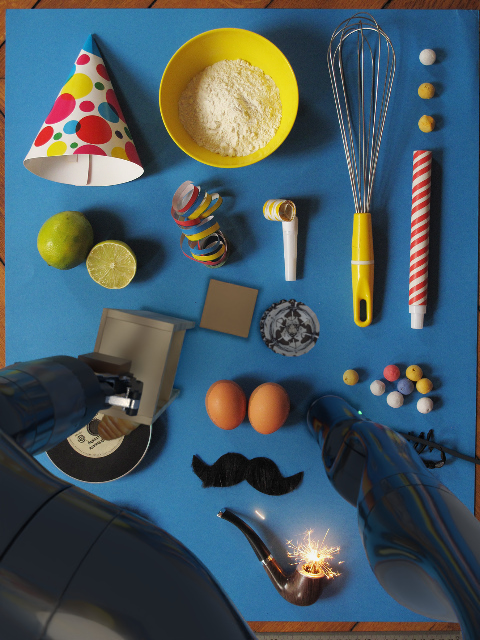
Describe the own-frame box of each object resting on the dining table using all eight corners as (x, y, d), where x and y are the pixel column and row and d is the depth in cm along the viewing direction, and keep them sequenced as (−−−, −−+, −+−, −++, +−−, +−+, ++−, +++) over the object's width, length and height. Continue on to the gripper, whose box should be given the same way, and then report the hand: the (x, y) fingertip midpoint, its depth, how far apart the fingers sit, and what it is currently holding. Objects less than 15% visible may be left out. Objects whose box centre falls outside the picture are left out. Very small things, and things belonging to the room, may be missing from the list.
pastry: (112, 446, 86) (106, 452, 82) (92, 421, 86) (85, 425, 82) (148, 418, 86) (143, 423, 82) (127, 392, 86) (121, 396, 82)
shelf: (195, 322, 86) (174, 324, 62) (178, 395, 86) (150, 425, 62) (144, 310, 86) (103, 307, 62) (127, 383, 86) (80, 408, 62)
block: (132, 360, 53) (120, 365, 48) (123, 399, 53) (110, 407, 48) (94, 351, 53) (77, 355, 48) (85, 389, 53) (68, 397, 48)
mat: (258, 290, 85) (258, 289, 85) (247, 337, 85) (247, 337, 85) (210, 279, 85) (210, 278, 85) (199, 326, 85) (199, 326, 85)
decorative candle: (287, 294, 85) (302, 284, 60) (311, 332, 85) (337, 338, 60) (249, 318, 85) (248, 318, 60) (273, 356, 85) (283, 373, 60)
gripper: (-51, 426, 36) (46, 391, 53) (111, 466, 35) (156, 417, 52) (-32, 341, 36) (59, 333, 53) (131, 380, 35) (170, 359, 52)
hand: (107, 375), depth 52 cm, fingers closed on block, 5 cm apart
